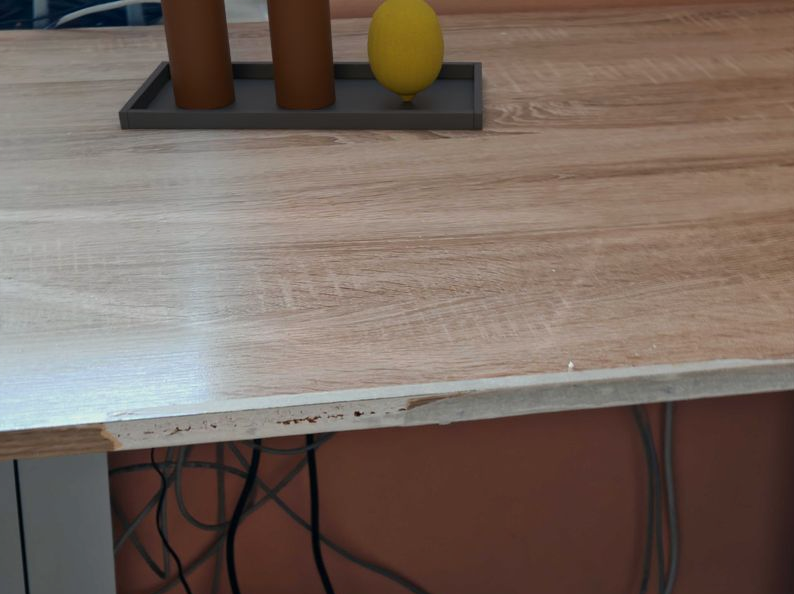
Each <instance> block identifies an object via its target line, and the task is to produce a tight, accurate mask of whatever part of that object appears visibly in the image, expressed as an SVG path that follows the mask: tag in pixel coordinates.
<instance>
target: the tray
mask: <svg viewBox="0 0 794 594" xmlns="http://www.w3.org/2000/svg"><path fill="white" fill-rule="evenodd" d="M231 64H232V72H233V81H234V90H235V101H234V102H233V103H232V104H230V105H228V106H225V107H222V108H217V109H211V110H189V109H184V108H181V107H178V106H177V105H176V104H175V98H174V91H173V84H172V77H171V70H170V63H169V60H168V61H167V60H165V61H164V60H163V61H161V62H160V63H159V64H158V65H157V67H156V68H155V69H154V70H153V71H152V73H150V75H149V76H148V77H147V78H146V80H144V82H143V83H142V84H141V85H140V86H139V87H138V89H137V90H135V92H134V93H133V94H132V95H131V97H130V98H129V99H128V101H126V102H125V104H124V105H123V106H122V107H121V109H119V111H118V112H117V113H118V120H119V124H120V129H121V130H162V131H163V130H167V131H168V130H172V131H173V130H179V131H180V130H183V131H184V130H185V131H186V130H188V131H189V130H191V131H195V130H196V131H197V130H199V131H202V130H203V131H204V130H206V131H207V130H208V131H213V130H214V131H215V130H216V131H220V130H221V131H224V130H225V131H227V130H228V131H231V130H232V131H233V130H234V131H246V130H247V131H248V130H249V131H253V130H254V131H279V130H280V131H483V117H484V115H483V114H484V113H483V111H484V110H483V62H482V61H443V63H442V67H441V70H440V72H439V74H438V76H437V78H436V80H435V81H434V82H433V84H432V85H431V86H430V87H428V88H427V89H425V90H424V91H422V92H419V93H417V95H416V96H415V97H414V98H413V99H412V100H411V101H403V100H402V99H401V98H400V97H399V96H398V95H397V94H396V93H394V92H391V91H389V90H387V89H386V88H384V87H383V86H382V85H381V84H380V83H379V82H378V80H377V79H376V77H375V76H374V74H373V72H372V69H371V67H370V63H369V61H333V64H334V80H335V96H336V100H335V102H334V103H333V104H332V105H330V106H327V107H324V108H320V109H315V110H291V109H286V108H282V107H280V106H279V105H278V104H277V103H276V95H275V84H274V73H273V63H272V61H231Z"/></svg>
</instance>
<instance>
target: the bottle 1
mask: <svg viewBox="0 0 794 594" xmlns="http://www.w3.org/2000/svg"><path fill="white" fill-rule="evenodd" d="M160 6H161V14H162V21H163V28H164V35H165V41H166V49H167V55H168V61H169V63H170V70H171V77H172V84H173V91H174V98H175V104H176V105H177V106H178V107H181V108H184V109H189V110H211V109H217V108H222V107H225V106H228V105H230V104H232V103H233V102H234V101H235V90H234V81H233V72H232V64H231V62H232V56H231V55H232V54H231V47H230V38H229V29H228V22H227V21H228V20H227V12H226V3H225V0H160Z"/></svg>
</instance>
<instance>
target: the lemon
mask: <svg viewBox="0 0 794 594" xmlns="http://www.w3.org/2000/svg"><path fill="white" fill-rule="evenodd" d="M366 42H367V43H366V44H367V45H366V46H367V47H366V48H367V58H368V62H369V63H370V67H371V69H372V72H373V74H374V76H375V77H376V79H377V80H378V82H379V83H380V84H381V85H382V86H383V87H384V88H386V89H387V90H389V91H391V92H394V93H396V94H397V95H398V96H399V97H400V98H401V99H402V100H403V101H411V100H412V99H413V98H414V97H415V96H416V95H417V93H419V92H422V91H424V90H425V89H427V88H428V87H430V86H431V85H432V84H433V82H434V81H435V80H436V78H437V76H438V74H439V72H440V70H441V67H442V63H443V62H444V55H445V44H444V43H445V42H444V35H443V31H442V27H441V23H440V21H439V17H438V15H437V14H436V12H435V10H434V9H433V8H432V7H431V6H430V5H429V4H428V3H427V2H426V1H424V0H385V1H384V2H383V3H382V4H380V5H379V7H377V9H376V10H375V12H374V14H373V16H372V18H371V21H370V24H369V28H368V33H367V41H366Z"/></svg>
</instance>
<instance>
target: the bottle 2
mask: <svg viewBox="0 0 794 594" xmlns="http://www.w3.org/2000/svg"><path fill="white" fill-rule="evenodd" d="M330 5H331V4H330V0H266V7H267V8H266V9H267V19H268V30H269V41H270V52H271V62H272V63H273V73H274V84H275V95H276V103H277V104H278V105H279V106H280V107H282V108H286V109H291V110H315V109H320V108H324V107H327V106H330V105H332V104H333V103H334V102H335V100H336V96H335V80H334V64H333V62H334V52H333V51H334V50H333V37H332V35H333V34H332V20H331V6H330Z"/></svg>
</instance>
